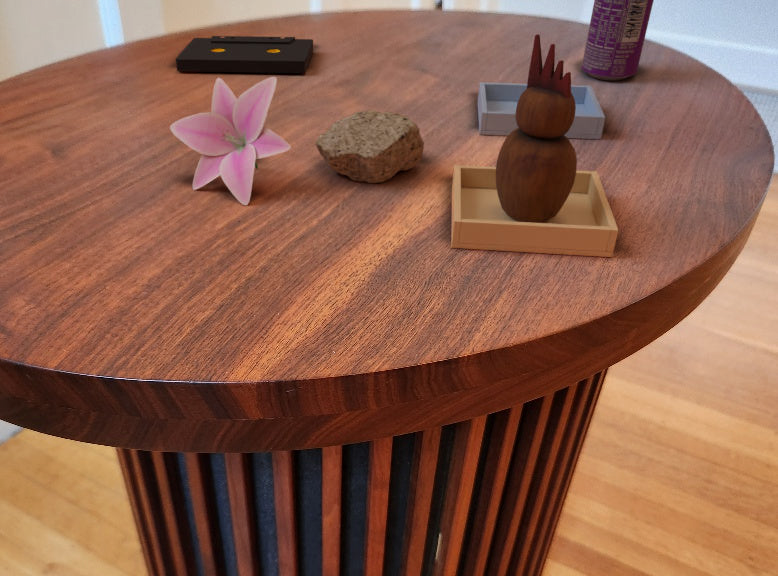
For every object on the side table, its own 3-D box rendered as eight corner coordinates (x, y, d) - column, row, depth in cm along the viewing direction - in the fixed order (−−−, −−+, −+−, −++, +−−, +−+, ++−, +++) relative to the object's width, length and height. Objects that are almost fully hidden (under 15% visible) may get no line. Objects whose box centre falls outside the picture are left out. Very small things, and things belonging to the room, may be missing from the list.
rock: (368, 117, 84) (405, 68, 77) (410, 182, 83) (451, 138, 76) (297, 142, 79) (330, 92, 72) (340, 211, 78) (378, 167, 71)
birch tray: (591, 196, 74) (597, 171, 72) (612, 257, 64) (618, 230, 63) (451, 189, 75) (454, 164, 74) (451, 248, 66) (454, 221, 64)
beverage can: (641, 72, 105) (664, -26, 98) (627, 86, 100) (651, -16, 93) (588, 64, 108) (607, -31, 101) (573, 78, 103) (592, -21, 96)
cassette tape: (313, 52, 115) (313, 37, 114) (304, 75, 106) (304, 59, 105) (195, 50, 117) (193, 35, 115) (176, 73, 108) (174, 57, 106)
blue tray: (587, 106, 94) (591, 85, 93) (600, 139, 85) (605, 117, 84) (477, 102, 96) (479, 82, 94) (479, 134, 87) (482, 112, 86)
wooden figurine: (479, 205, 71) (502, 32, 62) (533, 195, 73) (562, 25, 64) (520, 236, 66) (551, 53, 57) (577, 225, 68) (616, 45, 59)
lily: (172, 175, 81) (140, 111, 73) (261, 113, 83) (239, 43, 74) (235, 246, 77) (208, 186, 68) (328, 178, 78) (313, 111, 69)
